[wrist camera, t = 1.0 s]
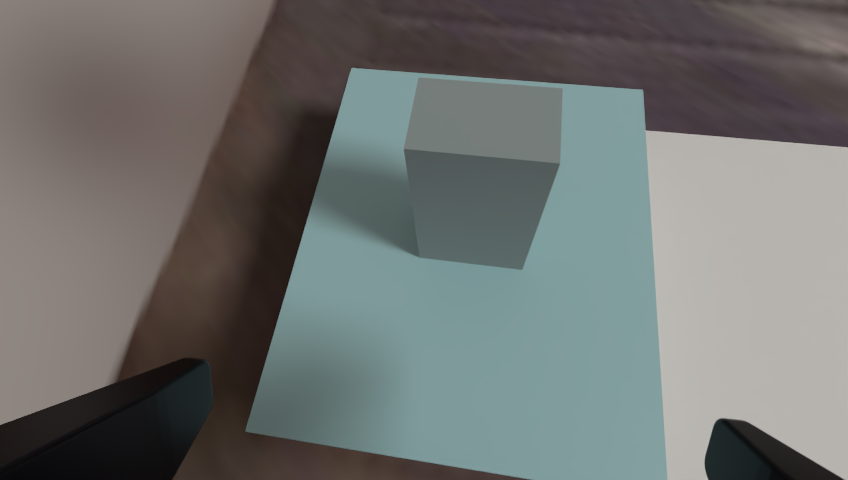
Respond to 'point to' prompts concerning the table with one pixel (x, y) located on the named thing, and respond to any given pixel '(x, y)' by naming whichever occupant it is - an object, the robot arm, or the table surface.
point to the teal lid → (476, 283)
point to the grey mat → (750, 293)
